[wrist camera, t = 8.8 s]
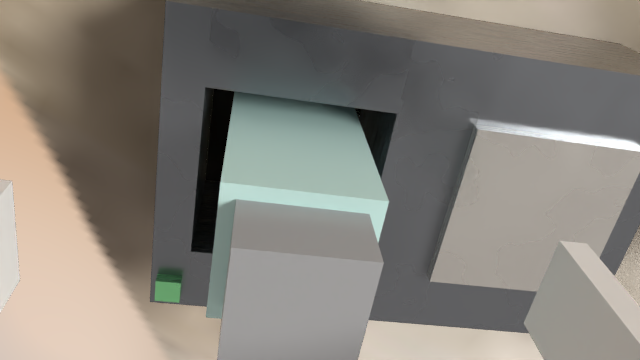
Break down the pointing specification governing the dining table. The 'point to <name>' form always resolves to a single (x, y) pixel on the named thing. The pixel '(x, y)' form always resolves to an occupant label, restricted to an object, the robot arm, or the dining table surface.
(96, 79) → the dining table surface
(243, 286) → the plug
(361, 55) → the port panel
